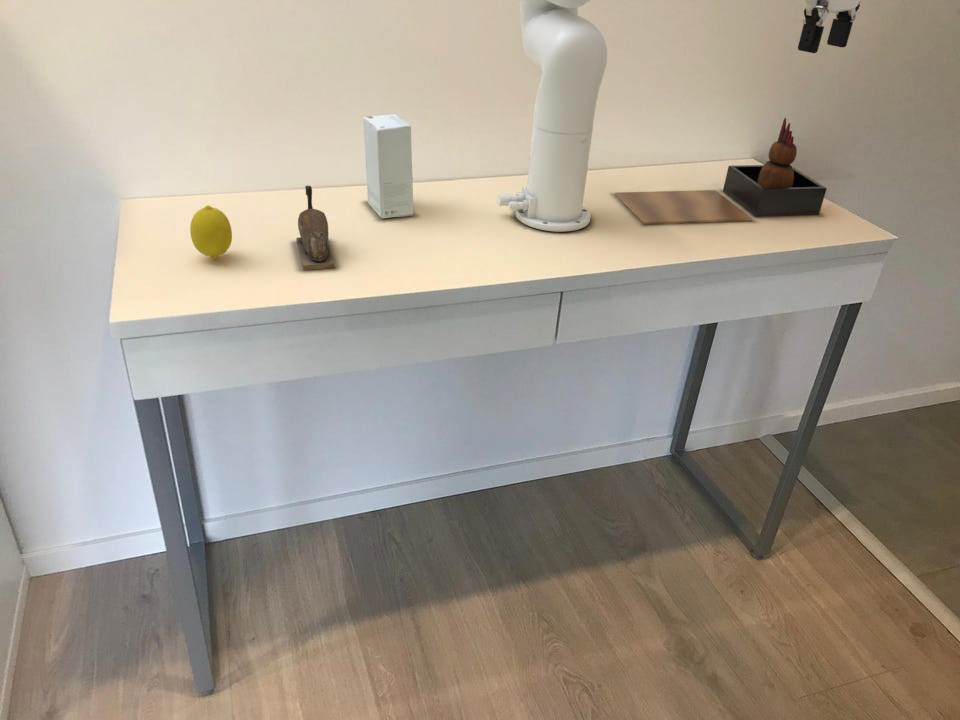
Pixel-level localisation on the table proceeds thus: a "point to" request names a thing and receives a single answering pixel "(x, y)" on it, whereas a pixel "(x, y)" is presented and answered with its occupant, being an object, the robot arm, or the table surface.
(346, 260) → the table surface
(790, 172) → the wooden figurine
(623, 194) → the brown wooden board
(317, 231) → the figurine
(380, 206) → the cosmetic box
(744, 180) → the box
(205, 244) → the lemon
